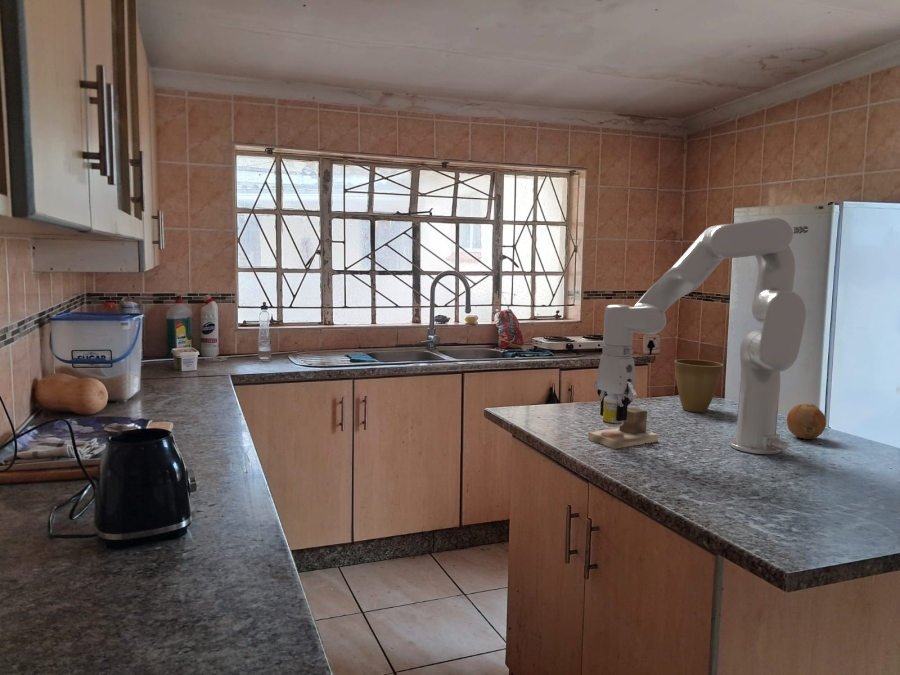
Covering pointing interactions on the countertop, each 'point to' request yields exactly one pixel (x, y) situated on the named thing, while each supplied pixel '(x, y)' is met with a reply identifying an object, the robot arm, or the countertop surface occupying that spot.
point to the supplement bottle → (611, 410)
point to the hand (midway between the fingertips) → (613, 417)
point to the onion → (806, 421)
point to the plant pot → (697, 383)
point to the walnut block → (635, 421)
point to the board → (621, 438)
